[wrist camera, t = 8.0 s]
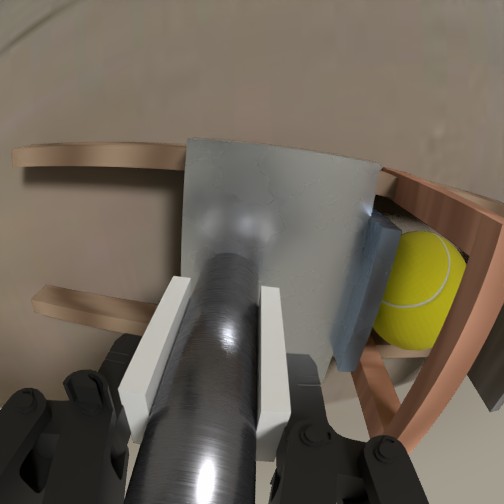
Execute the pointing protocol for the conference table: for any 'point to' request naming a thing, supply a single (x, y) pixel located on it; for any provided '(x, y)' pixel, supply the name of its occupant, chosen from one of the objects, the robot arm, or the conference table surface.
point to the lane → (371, 365)
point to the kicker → (247, 300)
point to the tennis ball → (419, 291)
